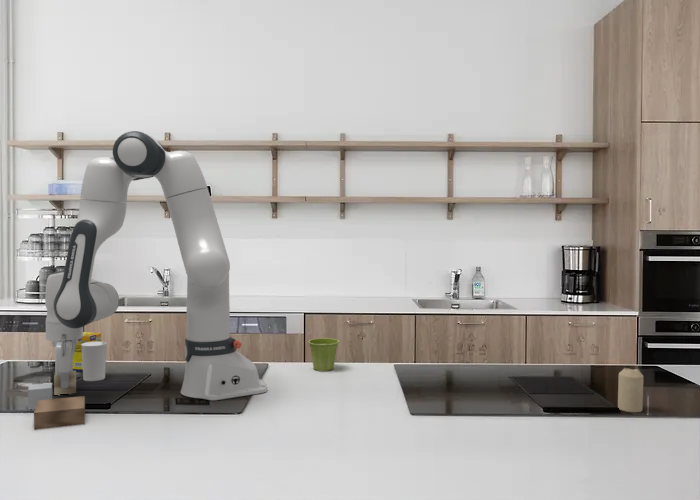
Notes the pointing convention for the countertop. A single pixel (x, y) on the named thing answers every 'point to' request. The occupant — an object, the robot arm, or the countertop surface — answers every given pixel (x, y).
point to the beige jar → (630, 390)
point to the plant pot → (323, 353)
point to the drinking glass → (93, 360)
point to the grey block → (39, 394)
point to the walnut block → (59, 412)
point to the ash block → (71, 387)
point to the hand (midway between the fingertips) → (65, 384)
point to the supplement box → (78, 349)
